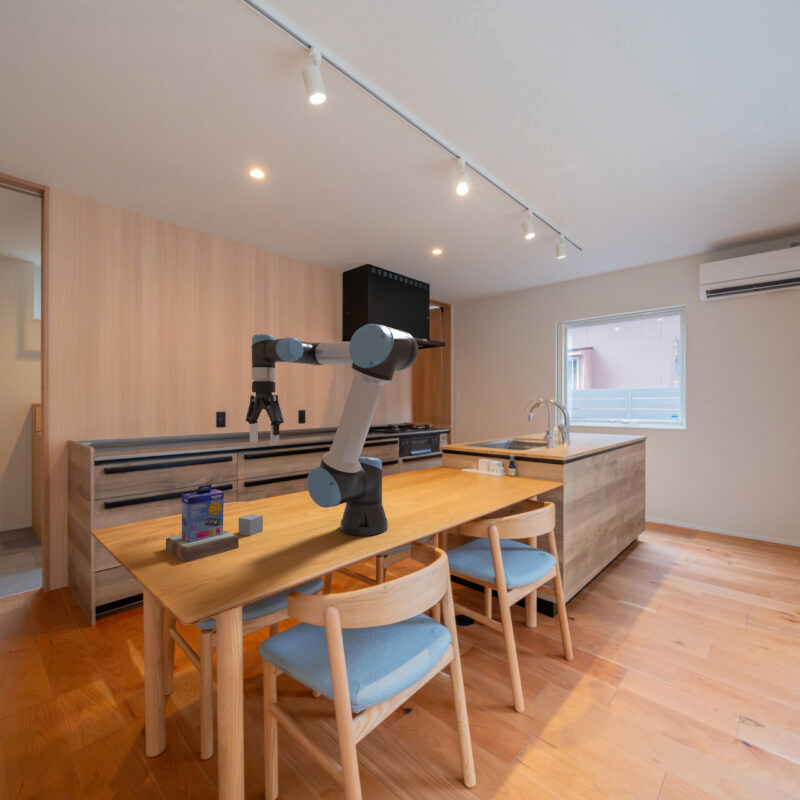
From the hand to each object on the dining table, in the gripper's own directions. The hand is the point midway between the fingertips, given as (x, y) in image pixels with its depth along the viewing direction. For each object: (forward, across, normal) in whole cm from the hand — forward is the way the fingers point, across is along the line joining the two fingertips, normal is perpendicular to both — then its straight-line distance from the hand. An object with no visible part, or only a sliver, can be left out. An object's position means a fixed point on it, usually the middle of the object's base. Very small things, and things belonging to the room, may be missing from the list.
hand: (263, 443), depth 138 cm
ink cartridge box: (+24, -9, +24) cm, 35 cm away
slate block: (+27, -6, +8) cm, 29 cm away
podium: (+27, -9, +24) cm, 37 cm away
